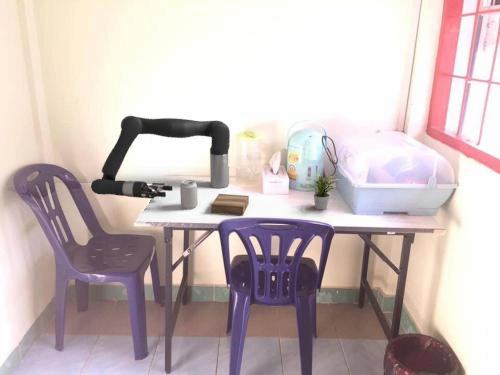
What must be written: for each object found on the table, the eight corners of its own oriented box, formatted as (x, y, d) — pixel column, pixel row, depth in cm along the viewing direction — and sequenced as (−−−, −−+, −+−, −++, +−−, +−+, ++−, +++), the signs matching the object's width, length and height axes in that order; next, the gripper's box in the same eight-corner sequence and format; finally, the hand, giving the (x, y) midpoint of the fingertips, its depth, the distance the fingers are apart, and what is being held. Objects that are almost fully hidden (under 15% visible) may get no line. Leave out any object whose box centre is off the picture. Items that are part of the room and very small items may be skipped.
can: (194, 210, 193) (193, 184, 189) (178, 208, 194) (177, 183, 190) (199, 204, 200) (199, 179, 196) (184, 203, 201) (183, 178, 197)
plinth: (219, 201, 203) (219, 193, 202) (248, 204, 201) (248, 195, 199) (211, 212, 190) (211, 204, 189) (242, 215, 188) (242, 206, 186)
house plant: (330, 217, 187) (333, 181, 182) (300, 210, 193) (302, 175, 188) (340, 206, 199) (343, 172, 194) (312, 201, 205) (314, 168, 200)
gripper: (127, 186, 191) (162, 188, 188) (140, 176, 204) (173, 178, 202) (129, 202, 193) (163, 204, 191) (142, 191, 207) (174, 194, 204)
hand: (168, 191), depth 196 cm, fingers open, 8 cm apart
